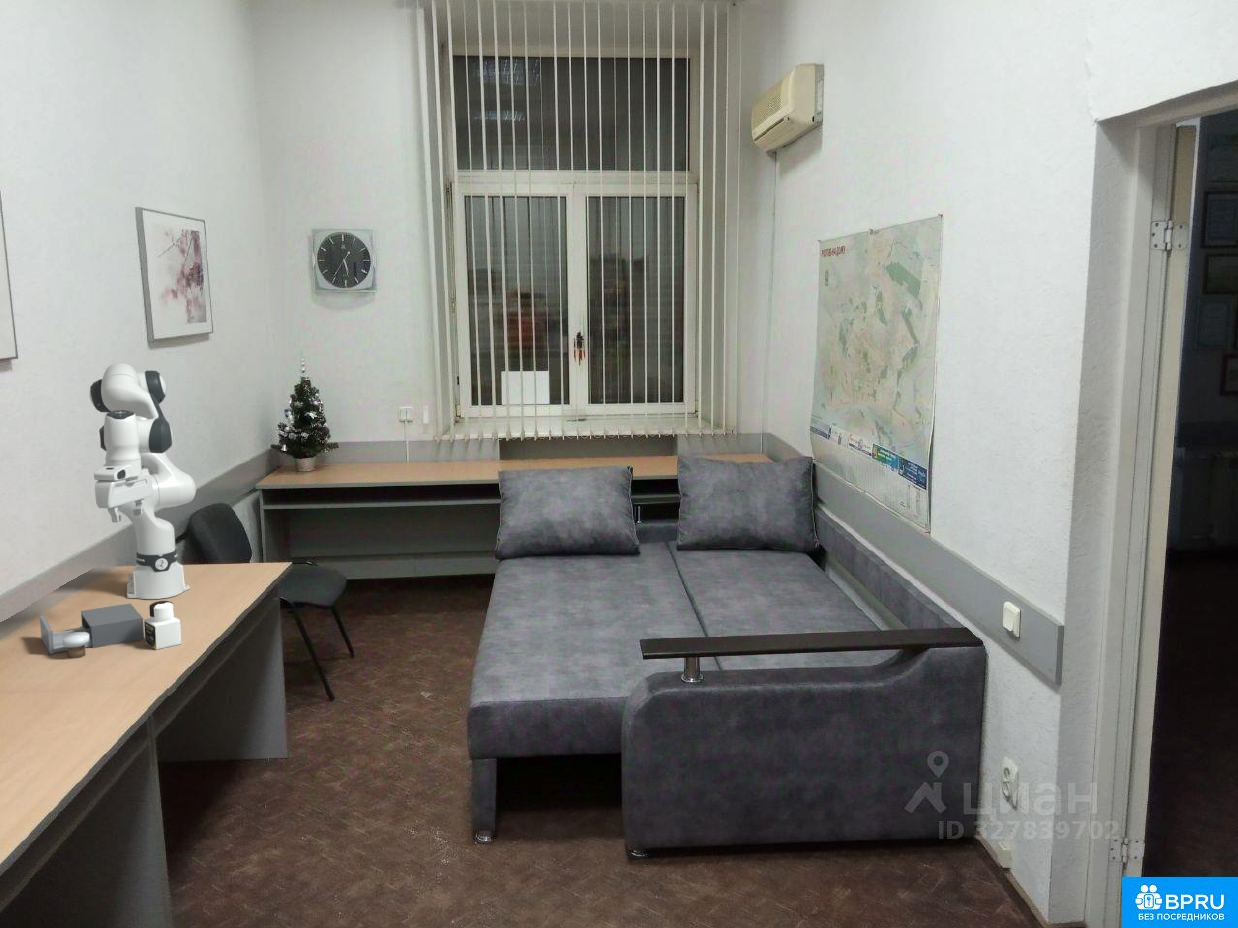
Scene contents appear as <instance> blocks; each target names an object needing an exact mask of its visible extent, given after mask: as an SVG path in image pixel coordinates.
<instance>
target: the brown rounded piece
mask: <svg viewBox="0 0 1238 928" xmlns="http://www.w3.org/2000/svg"><path fill="white" fill-rule="evenodd" d="M67 652H68V653H67V654H68V658H69V659H80V658H83V657H85V656H86V647H85V645H83V646H79V647H68V650H67Z"/></svg>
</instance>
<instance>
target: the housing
mask: <svg viewBox="0 0 1238 928" xmlns="http://www.w3.org/2000/svg"><path fill="white" fill-rule="evenodd" d="M80 616H81V626H84V628H90V627H91V633H92V646H91V647H92V649H95V648H100V647H106V646H107V647H108V646H112V645H119V644H125V643H129V642H135V641H140V640H141V641H142V640H145V627H144V617H143V616H142V615H141V614H140V613H139V611H138V610H137V609H136V608H135V607H134V606H133V604H132V603H125V604H117V605H112V606H111V605H110V606H104V607H98V608H91V609H83V610H81V611H80Z"/></svg>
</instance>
